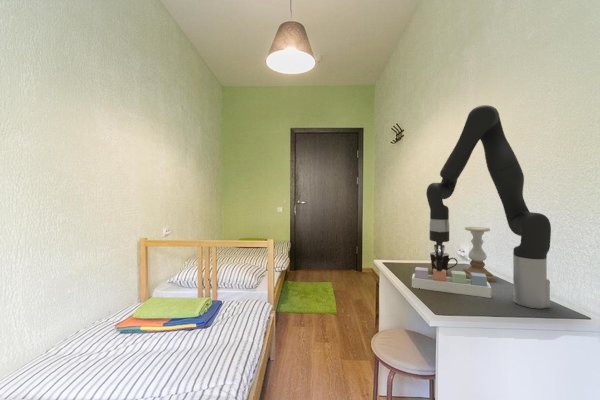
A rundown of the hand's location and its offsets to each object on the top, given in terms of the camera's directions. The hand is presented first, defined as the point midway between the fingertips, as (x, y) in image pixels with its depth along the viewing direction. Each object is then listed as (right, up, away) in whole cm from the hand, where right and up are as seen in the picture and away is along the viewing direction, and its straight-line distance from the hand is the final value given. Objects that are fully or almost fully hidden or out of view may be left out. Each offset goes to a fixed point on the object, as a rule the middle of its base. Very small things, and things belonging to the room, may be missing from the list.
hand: (439, 270), depth 116 cm
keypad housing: (+3, -8, -1) cm, 9 cm away
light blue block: (+13, -5, -6) cm, 15 cm away
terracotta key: (0, -5, 0) cm, 5 cm away
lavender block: (-6, -5, +3) cm, 8 cm away
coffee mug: (+12, -8, +21) cm, 25 cm away
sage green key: (+7, -5, -3) cm, 9 cm away
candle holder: (+25, -8, +14) cm, 30 cm away
